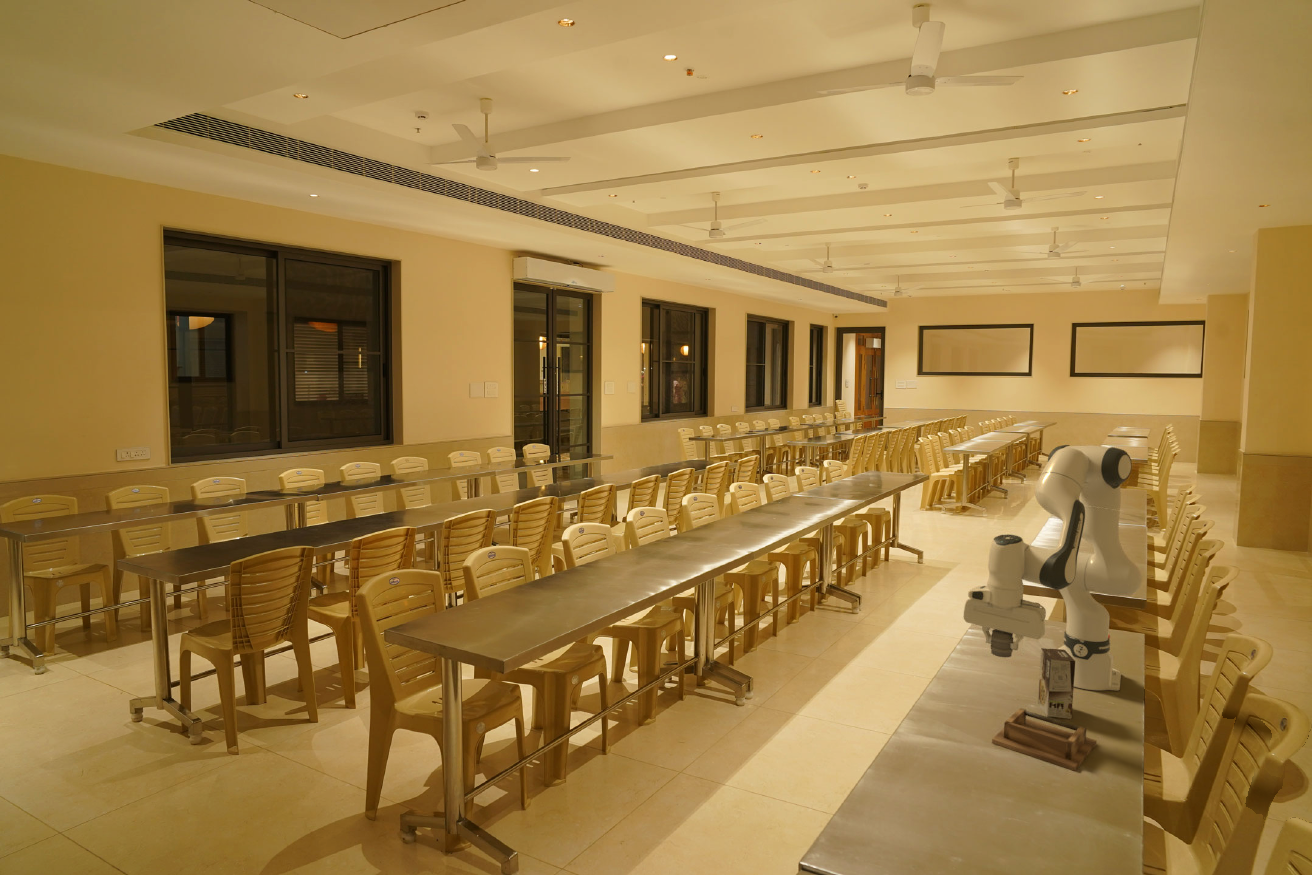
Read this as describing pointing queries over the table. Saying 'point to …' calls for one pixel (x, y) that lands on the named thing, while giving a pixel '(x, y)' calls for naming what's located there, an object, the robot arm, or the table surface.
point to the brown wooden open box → (1045, 739)
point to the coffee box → (1056, 683)
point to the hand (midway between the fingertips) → (1001, 646)
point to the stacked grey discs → (1001, 643)
